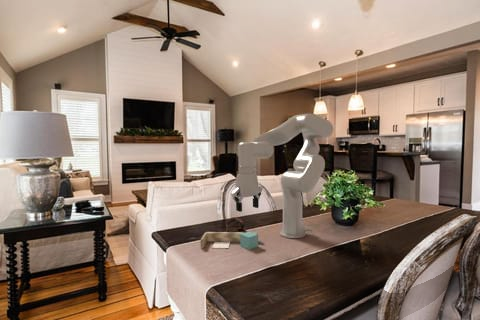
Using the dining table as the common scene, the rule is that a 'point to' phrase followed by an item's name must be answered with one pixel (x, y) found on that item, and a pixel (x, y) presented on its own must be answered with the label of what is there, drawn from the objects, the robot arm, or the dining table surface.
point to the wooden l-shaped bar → (220, 237)
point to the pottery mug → (235, 224)
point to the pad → (221, 245)
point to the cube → (249, 240)
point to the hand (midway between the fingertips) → (247, 209)
